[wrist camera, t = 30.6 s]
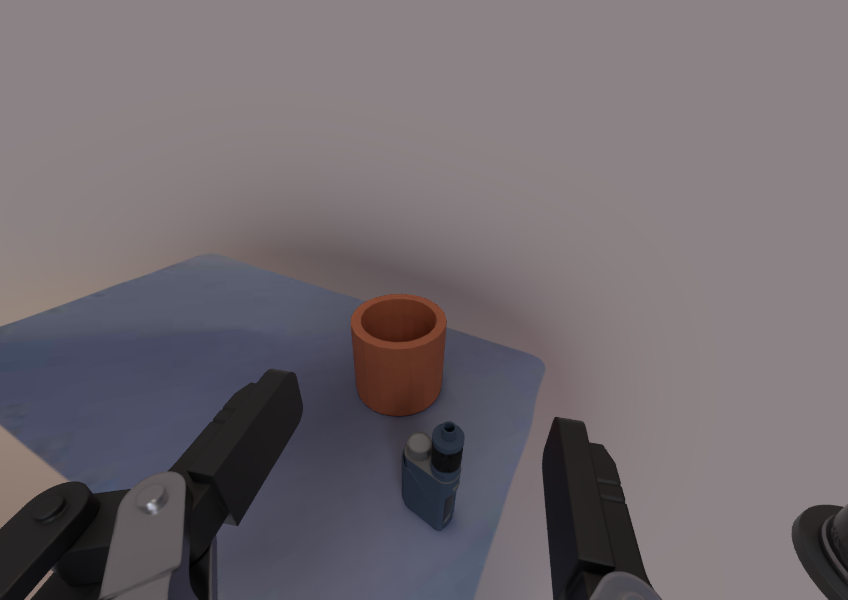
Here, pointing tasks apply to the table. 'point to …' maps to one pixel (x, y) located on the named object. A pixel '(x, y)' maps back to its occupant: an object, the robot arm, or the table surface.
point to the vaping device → (433, 473)
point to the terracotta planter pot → (398, 353)
